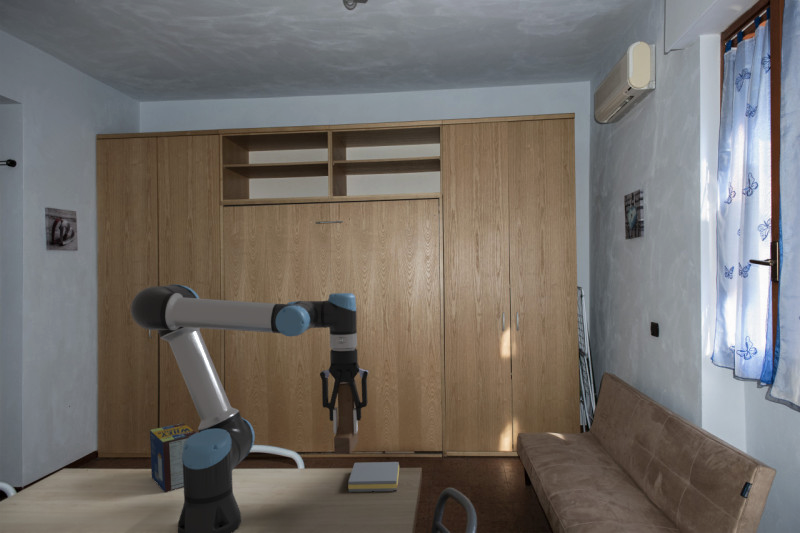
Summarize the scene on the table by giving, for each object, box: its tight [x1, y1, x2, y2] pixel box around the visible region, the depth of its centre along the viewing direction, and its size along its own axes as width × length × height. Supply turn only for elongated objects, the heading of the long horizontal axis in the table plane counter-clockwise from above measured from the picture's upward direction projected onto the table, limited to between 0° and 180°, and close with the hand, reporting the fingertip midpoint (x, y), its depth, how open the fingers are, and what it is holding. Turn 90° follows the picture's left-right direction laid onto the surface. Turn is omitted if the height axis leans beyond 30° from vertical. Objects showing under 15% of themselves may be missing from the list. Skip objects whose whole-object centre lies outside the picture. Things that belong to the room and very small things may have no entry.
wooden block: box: [333, 380, 359, 455], centre depth 141 cm, size 9×4×18 cm, turn 170°
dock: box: [347, 461, 400, 493], centre depth 154 cm, size 14×14×3 cm
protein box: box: [149, 422, 197, 493], centre depth 160 cm, size 10×15×16 cm
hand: (345, 431), depth 141 cm, fingers closed on wooden block, 5 cm apart
